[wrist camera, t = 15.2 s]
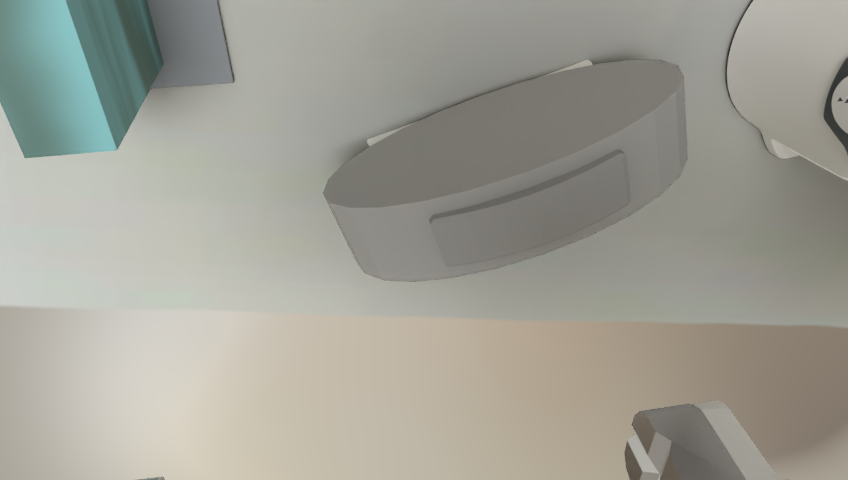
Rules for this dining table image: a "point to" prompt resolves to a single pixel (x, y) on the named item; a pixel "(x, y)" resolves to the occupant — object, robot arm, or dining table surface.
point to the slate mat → (190, 43)
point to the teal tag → (75, 72)
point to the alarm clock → (513, 171)
